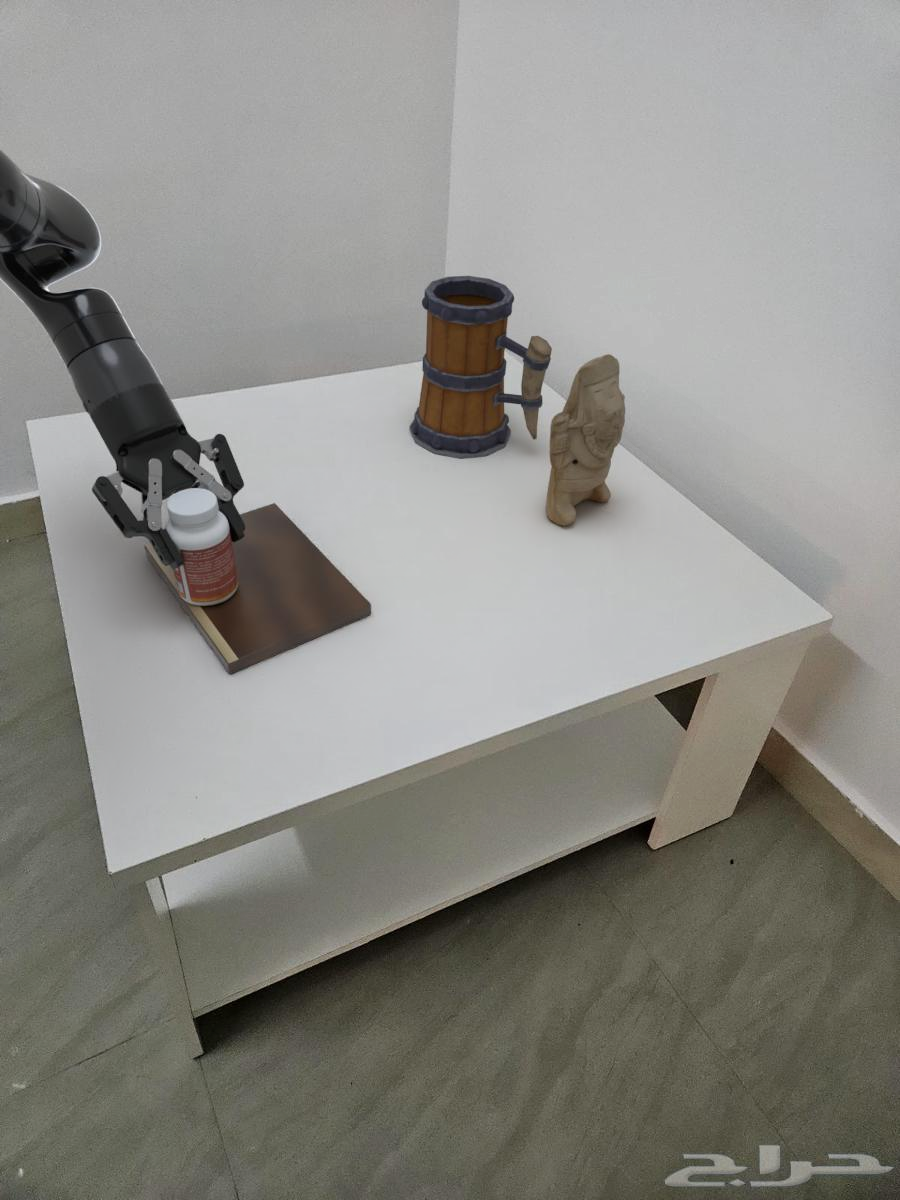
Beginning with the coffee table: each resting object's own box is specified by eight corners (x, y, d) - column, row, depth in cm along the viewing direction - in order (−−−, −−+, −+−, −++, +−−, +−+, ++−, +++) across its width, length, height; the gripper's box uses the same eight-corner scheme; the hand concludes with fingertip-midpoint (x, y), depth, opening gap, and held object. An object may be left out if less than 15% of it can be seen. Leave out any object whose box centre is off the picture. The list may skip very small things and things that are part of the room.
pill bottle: (250, 580, 87) (238, 493, 80) (215, 615, 82) (199, 526, 75) (202, 563, 88) (185, 476, 81) (165, 597, 84) (144, 508, 77)
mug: (558, 435, 117) (579, 295, 104) (513, 481, 107) (530, 333, 94) (441, 398, 123) (448, 263, 110) (389, 438, 114) (389, 295, 101)
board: (229, 675, 79) (227, 663, 77) (146, 556, 92) (143, 544, 91) (371, 614, 86) (371, 603, 85) (275, 512, 99) (274, 501, 98)
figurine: (561, 541, 97) (588, 386, 84) (519, 513, 102) (538, 360, 88) (630, 504, 104) (665, 356, 91) (588, 479, 108) (615, 333, 95)
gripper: (58, 406, 72) (151, 575, 74) (202, 362, 80) (283, 515, 82) (48, 436, 78) (134, 590, 80) (183, 392, 86) (258, 534, 88)
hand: (209, 552), depth 81 cm, fingers closed on pill bottle, 6 cm apart
